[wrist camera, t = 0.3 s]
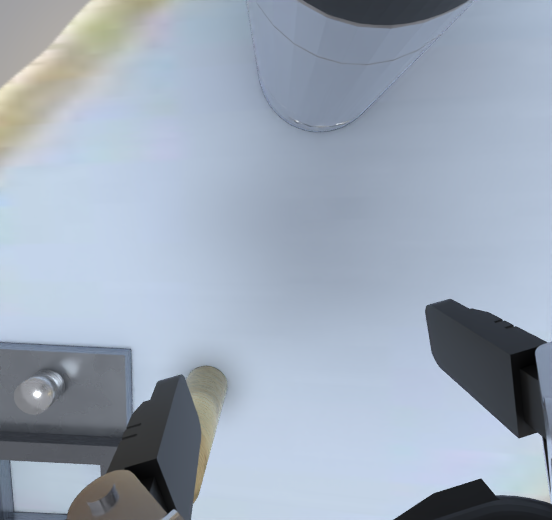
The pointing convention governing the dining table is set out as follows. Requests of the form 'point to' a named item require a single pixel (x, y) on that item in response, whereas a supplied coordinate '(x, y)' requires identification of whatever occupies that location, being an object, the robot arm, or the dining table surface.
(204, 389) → the pin
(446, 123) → the dining table surface
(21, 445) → the chain end upper
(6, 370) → the chain end lower
